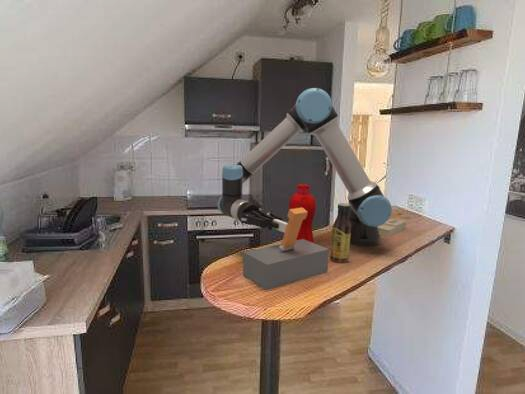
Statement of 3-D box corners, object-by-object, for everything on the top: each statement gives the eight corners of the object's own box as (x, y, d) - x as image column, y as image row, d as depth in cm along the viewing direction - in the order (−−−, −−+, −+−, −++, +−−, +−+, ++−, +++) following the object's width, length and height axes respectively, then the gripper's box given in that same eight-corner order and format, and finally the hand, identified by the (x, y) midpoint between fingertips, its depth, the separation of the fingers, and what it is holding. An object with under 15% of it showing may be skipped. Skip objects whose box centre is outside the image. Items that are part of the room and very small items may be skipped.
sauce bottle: (326, 257, 122) (329, 202, 119) (341, 255, 125) (345, 201, 121) (336, 264, 116) (340, 206, 113) (352, 262, 119) (356, 205, 115)
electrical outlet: (373, 224, 154) (391, 218, 167) (372, 233, 155) (390, 226, 167) (389, 228, 149) (406, 221, 162) (388, 237, 150) (405, 229, 163)
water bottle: (309, 246, 134) (312, 182, 129) (315, 256, 123) (319, 186, 118) (285, 246, 134) (288, 181, 129) (289, 256, 123) (291, 186, 118)
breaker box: (301, 260, 120) (302, 239, 118) (327, 271, 110) (328, 249, 109) (242, 275, 106) (243, 251, 104) (266, 290, 96) (267, 264, 95)
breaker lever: (290, 245, 109) (302, 207, 103) (295, 250, 107) (307, 212, 101) (277, 248, 106) (289, 209, 100) (282, 253, 105) (294, 214, 98)
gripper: (260, 220, 128) (303, 237, 109) (229, 224, 120) (269, 244, 101) (261, 200, 126) (304, 213, 107) (229, 203, 119) (270, 219, 100)
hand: (287, 228), depth 104 cm, fingers closed
